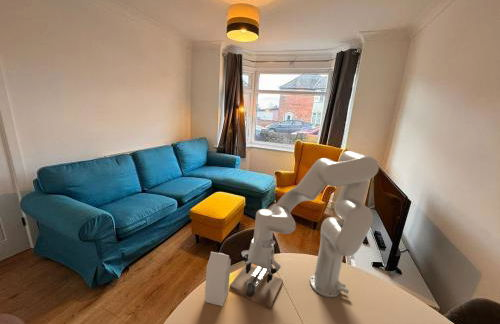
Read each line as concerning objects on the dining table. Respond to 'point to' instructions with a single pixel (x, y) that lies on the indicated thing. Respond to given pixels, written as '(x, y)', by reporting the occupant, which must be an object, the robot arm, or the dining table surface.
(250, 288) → the gray rounded bar
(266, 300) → the walnut board
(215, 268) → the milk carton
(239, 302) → the dining table surface
